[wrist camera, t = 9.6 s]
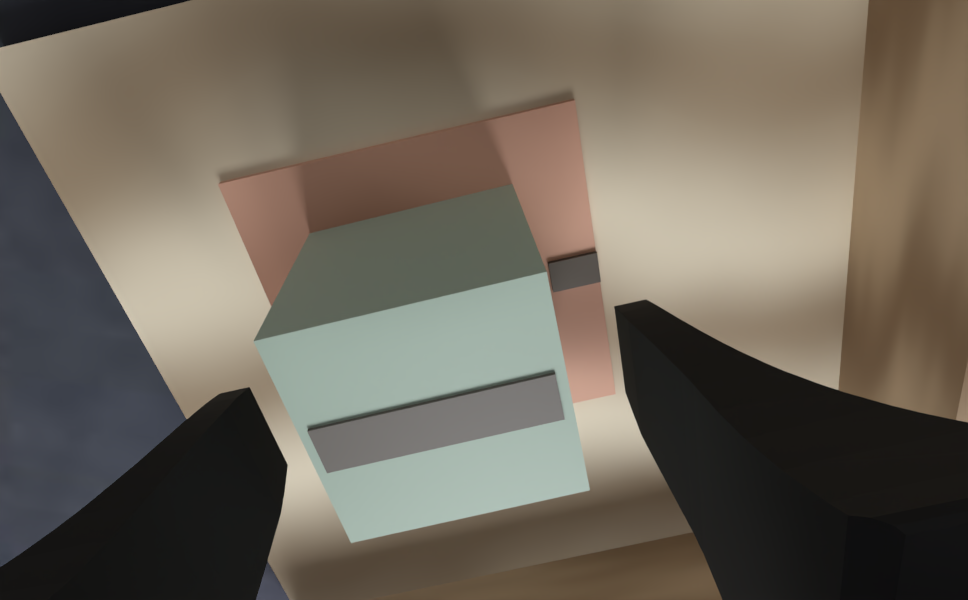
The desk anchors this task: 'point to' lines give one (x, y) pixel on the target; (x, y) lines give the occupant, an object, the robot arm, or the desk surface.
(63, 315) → the desk surface
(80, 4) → the desk surface
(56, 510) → the desk surface
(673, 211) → the tray
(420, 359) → the sage cube
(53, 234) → the desk surface
